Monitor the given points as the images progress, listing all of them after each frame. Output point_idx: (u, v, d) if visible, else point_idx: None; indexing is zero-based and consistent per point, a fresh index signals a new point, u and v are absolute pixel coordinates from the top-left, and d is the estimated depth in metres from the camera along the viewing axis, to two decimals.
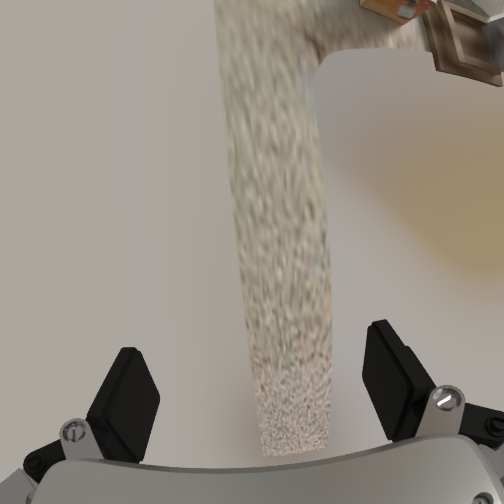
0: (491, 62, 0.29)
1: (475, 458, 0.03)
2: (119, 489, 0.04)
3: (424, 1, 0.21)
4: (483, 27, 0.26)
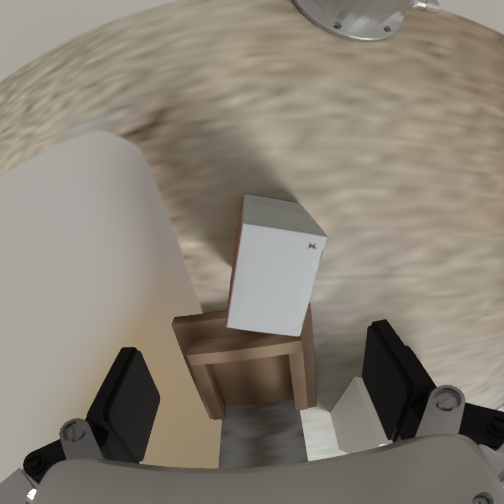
0: (236, 406, 0.35)
1: (475, 458, 0.03)
2: (119, 489, 0.04)
3: None
4: (293, 402, 0.34)
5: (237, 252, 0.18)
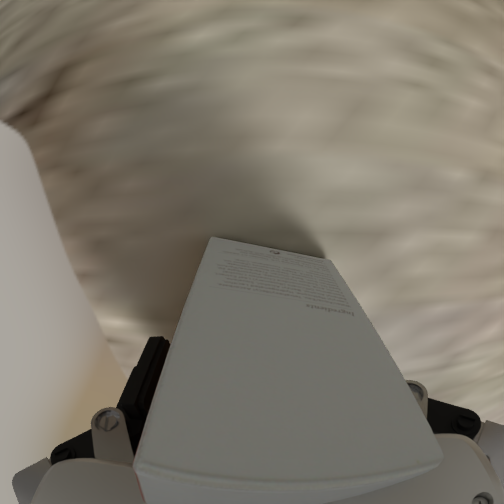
0: None
1: (475, 458, 0.03)
2: (119, 489, 0.04)
3: None
4: None
5: (145, 502, 0.04)
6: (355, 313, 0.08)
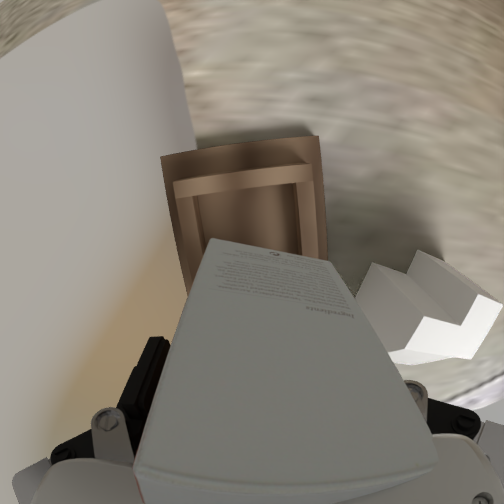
0: None
1: (475, 458, 0.03)
2: (119, 489, 0.04)
3: None
4: None
5: None
6: (355, 315, 0.08)
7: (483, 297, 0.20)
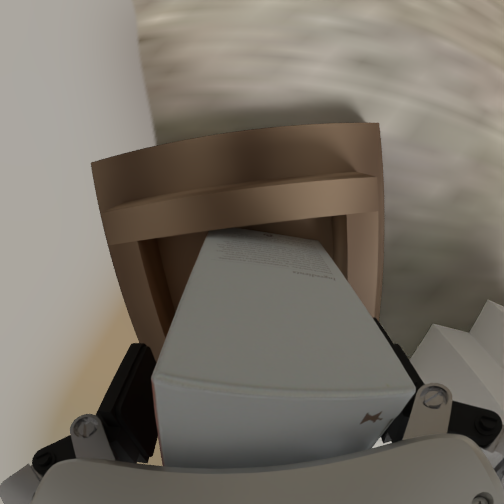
0: None
1: (475, 458, 0.03)
2: (119, 489, 0.04)
3: None
4: None
5: (158, 432, 0.05)
6: (336, 278, 0.10)
7: None
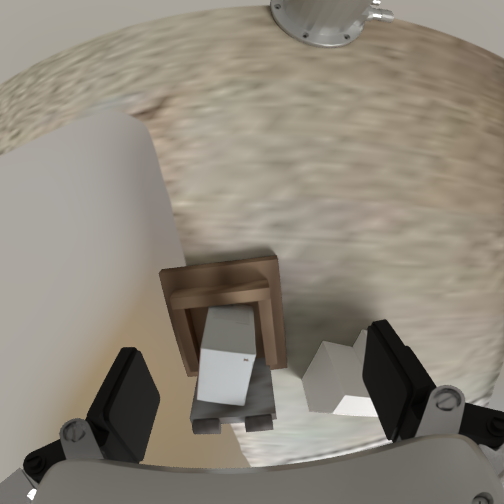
0: None
1: (475, 458, 0.03)
2: (119, 489, 0.04)
3: None
4: (264, 360, 0.39)
5: (199, 362, 0.28)
6: (249, 324, 0.33)
7: None
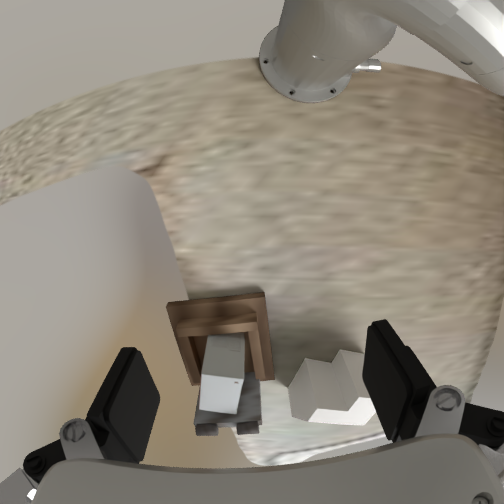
0: None
1: (475, 458, 0.03)
2: (119, 489, 0.04)
3: None
4: (255, 373, 0.47)
5: (200, 383, 0.35)
6: (240, 351, 0.40)
7: (364, 398, 0.37)
